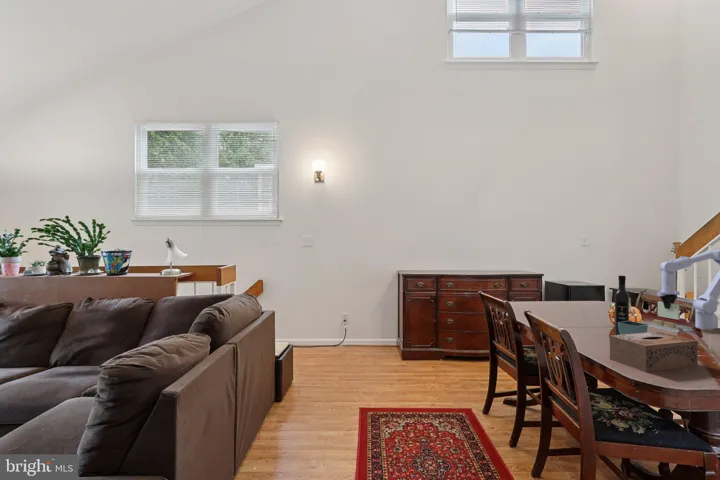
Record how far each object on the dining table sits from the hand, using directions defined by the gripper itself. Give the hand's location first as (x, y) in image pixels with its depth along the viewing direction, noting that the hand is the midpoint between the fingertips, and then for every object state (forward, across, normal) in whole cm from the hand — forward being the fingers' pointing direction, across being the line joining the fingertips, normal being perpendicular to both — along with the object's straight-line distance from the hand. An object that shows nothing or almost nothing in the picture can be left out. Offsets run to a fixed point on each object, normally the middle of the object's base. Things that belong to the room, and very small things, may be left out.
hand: (668, 308), depth 201 cm
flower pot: (+11, +46, +14) cm, 50 cm away
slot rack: (+10, +4, +3) cm, 12 cm away
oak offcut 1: (+9, +8, 0) cm, 12 cm away
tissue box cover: (+11, +68, +37) cm, 78 cm away
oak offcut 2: (+9, +8, +6) cm, 14 cm away
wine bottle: (+11, +38, +3) cm, 40 cm away
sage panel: (+5, 0, 0) cm, 5 cm away
